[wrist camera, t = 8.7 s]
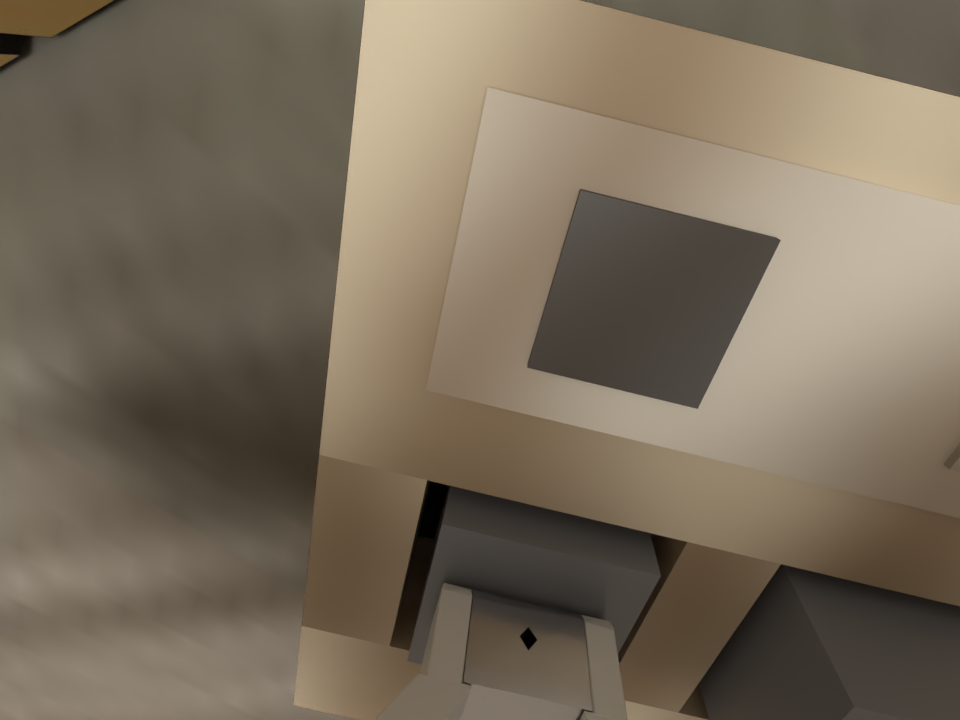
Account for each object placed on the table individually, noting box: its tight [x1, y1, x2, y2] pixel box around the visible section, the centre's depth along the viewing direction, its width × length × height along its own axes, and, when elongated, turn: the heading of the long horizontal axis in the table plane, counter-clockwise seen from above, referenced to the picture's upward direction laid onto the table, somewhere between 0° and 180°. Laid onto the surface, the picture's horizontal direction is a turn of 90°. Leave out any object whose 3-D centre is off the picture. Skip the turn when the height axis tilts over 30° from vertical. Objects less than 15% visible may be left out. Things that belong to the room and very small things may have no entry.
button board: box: [294, 0, 960, 720], centre depth 10 cm, size 20×14×3 cm
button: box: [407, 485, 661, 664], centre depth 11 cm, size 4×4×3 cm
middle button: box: [699, 564, 960, 720], centre depth 10 cm, size 4×4×3 cm
